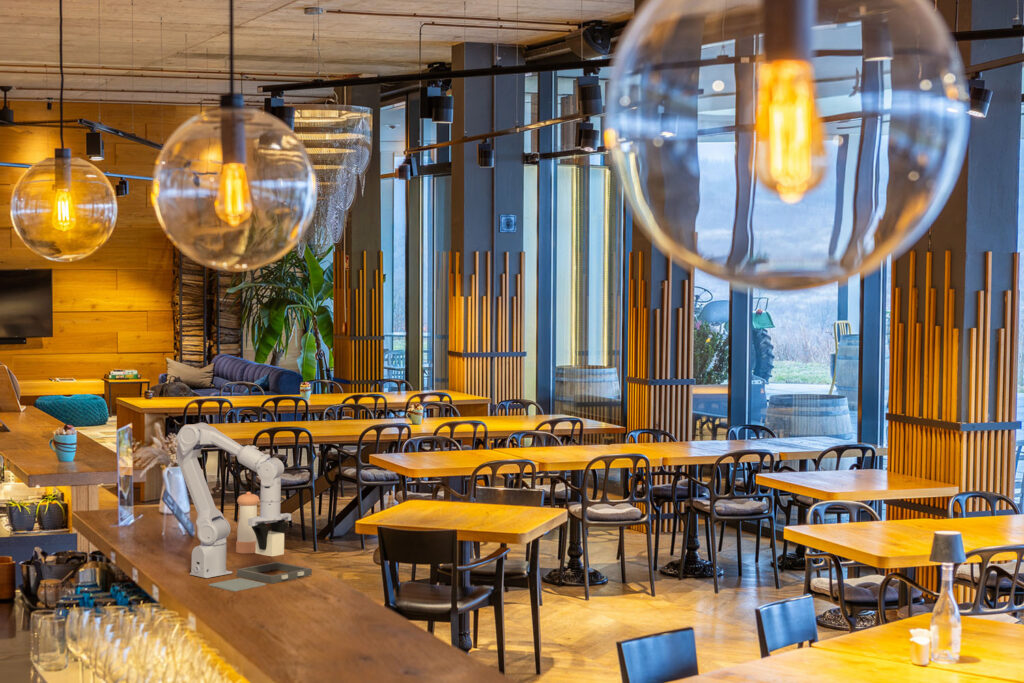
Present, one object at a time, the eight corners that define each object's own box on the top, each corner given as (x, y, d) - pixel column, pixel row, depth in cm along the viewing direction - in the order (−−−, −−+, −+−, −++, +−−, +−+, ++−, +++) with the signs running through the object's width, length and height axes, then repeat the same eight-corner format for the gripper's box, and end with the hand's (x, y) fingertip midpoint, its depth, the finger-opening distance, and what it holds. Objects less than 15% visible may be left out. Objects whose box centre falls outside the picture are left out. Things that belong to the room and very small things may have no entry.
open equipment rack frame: (272, 584, 318) (273, 577, 318) (236, 576, 328) (236, 569, 328) (313, 575, 330) (313, 569, 330) (277, 568, 340) (277, 561, 340)
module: (271, 556, 323) (272, 534, 323) (255, 553, 327) (255, 531, 327) (283, 554, 327) (284, 532, 327) (267, 551, 331) (267, 529, 331)
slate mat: (234, 591, 308) (234, 590, 308) (208, 585, 315) (208, 584, 315) (265, 585, 317) (265, 583, 317) (240, 579, 324) (240, 577, 324)
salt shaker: (256, 553, 362) (257, 493, 362) (233, 553, 362) (234, 493, 362) (261, 549, 369) (262, 490, 369) (239, 549, 369) (240, 490, 369)
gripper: (260, 505, 319) (259, 553, 319) (298, 499, 330) (297, 546, 331) (243, 502, 323) (242, 550, 323) (282, 497, 335) (281, 543, 335)
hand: (269, 548), depth 327 cm, fingers closed on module, 4 cm apart
